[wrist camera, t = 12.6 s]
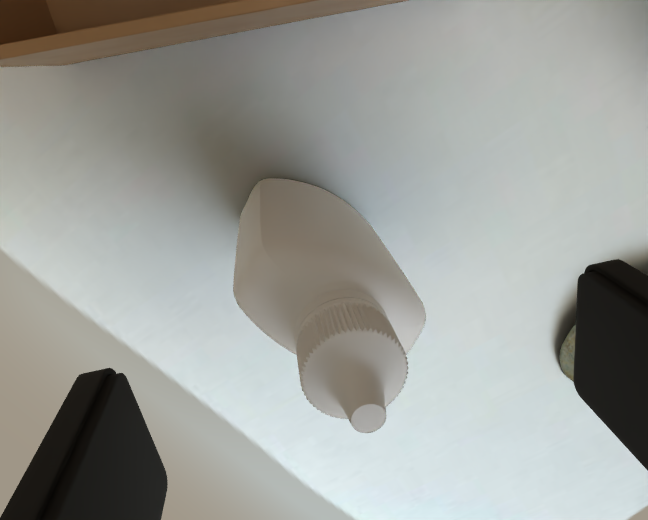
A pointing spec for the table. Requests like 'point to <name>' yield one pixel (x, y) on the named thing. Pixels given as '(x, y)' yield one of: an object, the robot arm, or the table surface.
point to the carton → (139, 24)
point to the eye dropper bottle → (327, 297)
